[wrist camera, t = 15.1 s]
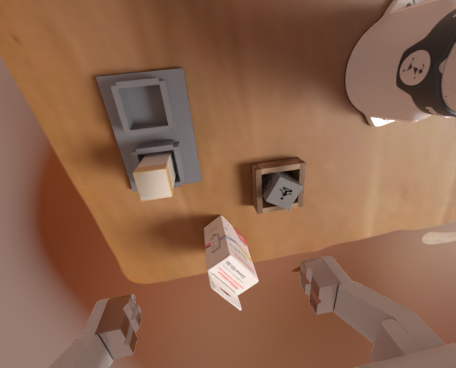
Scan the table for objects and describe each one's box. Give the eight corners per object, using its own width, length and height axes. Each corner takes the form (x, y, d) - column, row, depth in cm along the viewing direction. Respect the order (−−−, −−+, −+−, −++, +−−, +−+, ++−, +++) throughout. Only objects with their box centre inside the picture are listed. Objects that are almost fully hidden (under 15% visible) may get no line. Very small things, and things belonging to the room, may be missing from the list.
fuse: (171, 149, 35) (165, 168, 27) (176, 171, 37) (172, 196, 29) (146, 152, 35) (132, 173, 27) (152, 175, 37) (141, 201, 29)
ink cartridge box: (245, 237, 47) (266, 297, 34) (228, 250, 48) (241, 314, 35) (221, 213, 43) (233, 270, 30) (202, 227, 44) (206, 289, 31)
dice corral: (298, 157, 41) (305, 162, 38) (296, 198, 44) (302, 206, 42) (251, 164, 40) (255, 170, 37) (253, 205, 44) (257, 213, 41)
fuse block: (183, 68, 32) (182, 66, 28) (201, 179, 40) (202, 188, 36) (98, 76, 31) (86, 76, 27) (134, 189, 38) (128, 199, 35)
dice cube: (291, 175, 42) (303, 186, 38) (278, 196, 44) (288, 209, 39) (270, 166, 41) (280, 176, 36) (257, 188, 42) (265, 201, 38)
